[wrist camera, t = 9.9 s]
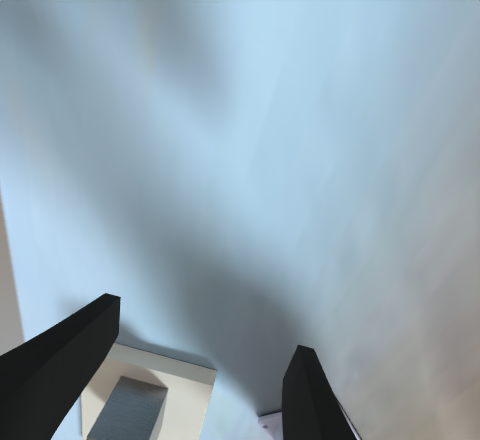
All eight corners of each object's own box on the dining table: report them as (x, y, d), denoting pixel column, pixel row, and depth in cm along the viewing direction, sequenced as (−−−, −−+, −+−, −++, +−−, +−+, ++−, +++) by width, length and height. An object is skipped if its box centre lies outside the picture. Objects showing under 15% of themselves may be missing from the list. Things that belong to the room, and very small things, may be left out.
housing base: (90, 336, 26) (50, 387, 21) (216, 370, 26) (203, 430, 21) (91, 443, 34) (61, 498, 29) (188, 471, 33) (174, 530, 29)
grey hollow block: (121, 375, 25) (86, 436, 21) (168, 388, 25) (144, 453, 21) (118, 415, 28) (87, 477, 23) (161, 426, 28) (138, 492, 23)
